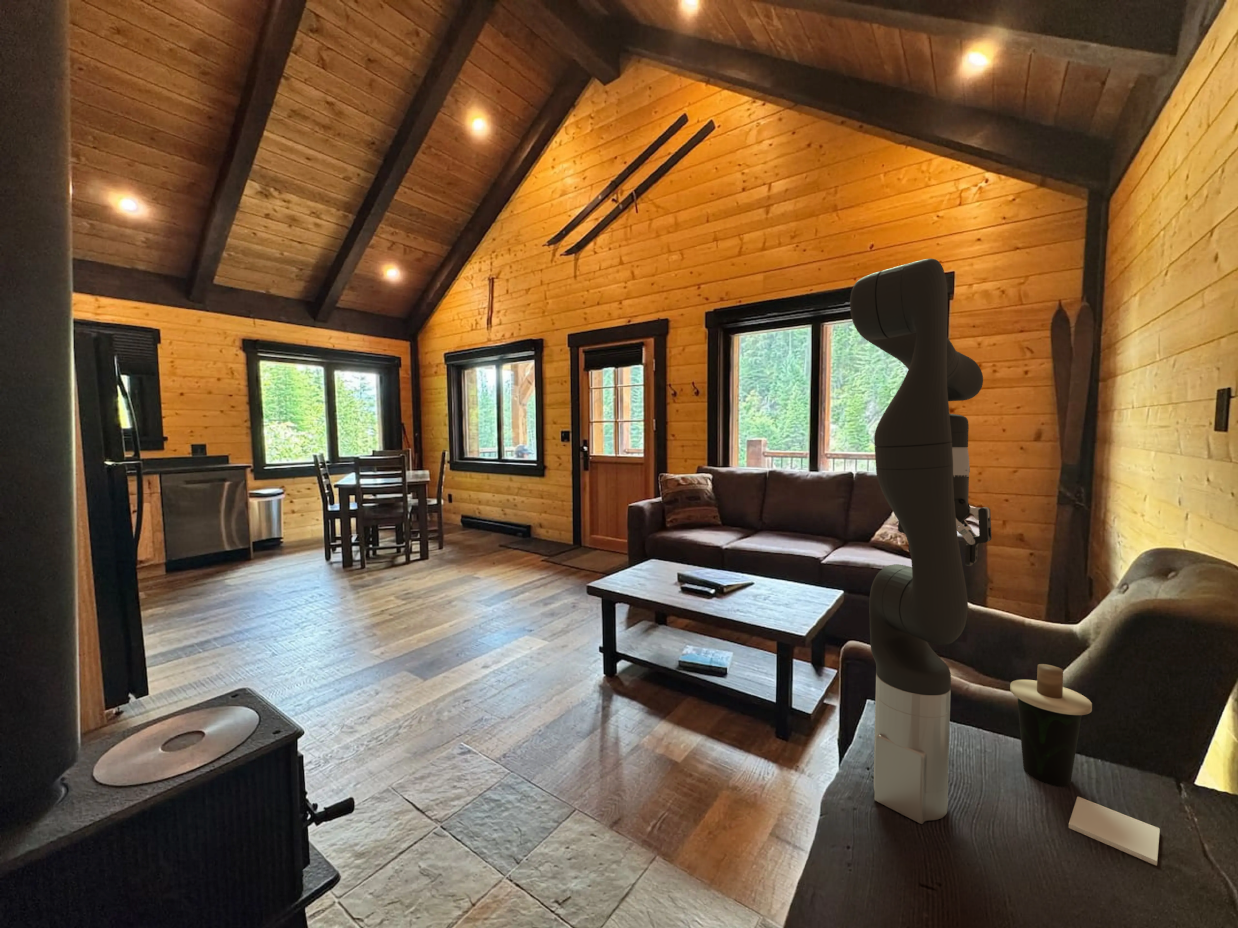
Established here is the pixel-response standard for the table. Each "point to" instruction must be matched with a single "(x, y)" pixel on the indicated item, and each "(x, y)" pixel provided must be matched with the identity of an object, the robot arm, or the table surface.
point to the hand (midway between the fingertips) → (941, 560)
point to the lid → (1050, 692)
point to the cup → (1048, 744)
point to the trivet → (1116, 830)
